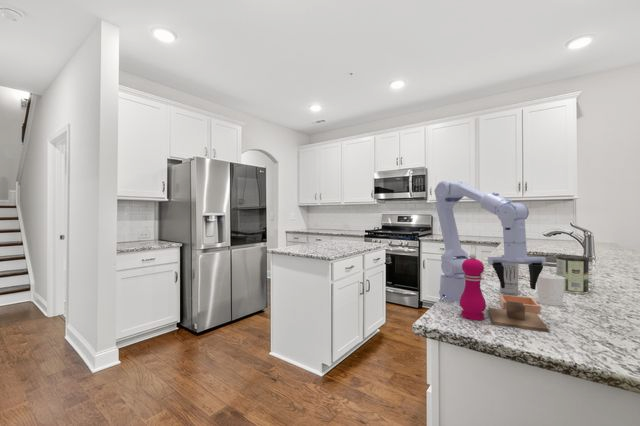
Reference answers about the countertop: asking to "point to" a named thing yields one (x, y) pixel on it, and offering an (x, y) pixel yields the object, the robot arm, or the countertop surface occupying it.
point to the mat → (512, 327)
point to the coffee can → (574, 273)
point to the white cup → (550, 289)
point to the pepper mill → (472, 290)
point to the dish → (528, 302)
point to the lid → (516, 317)
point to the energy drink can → (510, 278)
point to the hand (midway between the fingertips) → (517, 288)
